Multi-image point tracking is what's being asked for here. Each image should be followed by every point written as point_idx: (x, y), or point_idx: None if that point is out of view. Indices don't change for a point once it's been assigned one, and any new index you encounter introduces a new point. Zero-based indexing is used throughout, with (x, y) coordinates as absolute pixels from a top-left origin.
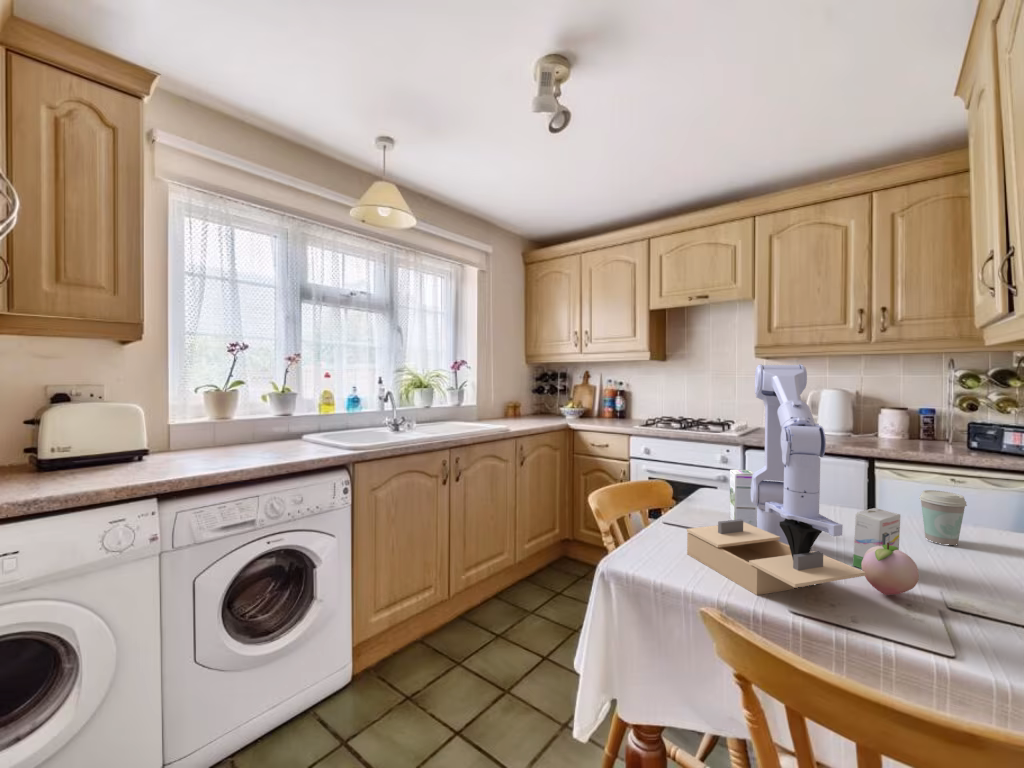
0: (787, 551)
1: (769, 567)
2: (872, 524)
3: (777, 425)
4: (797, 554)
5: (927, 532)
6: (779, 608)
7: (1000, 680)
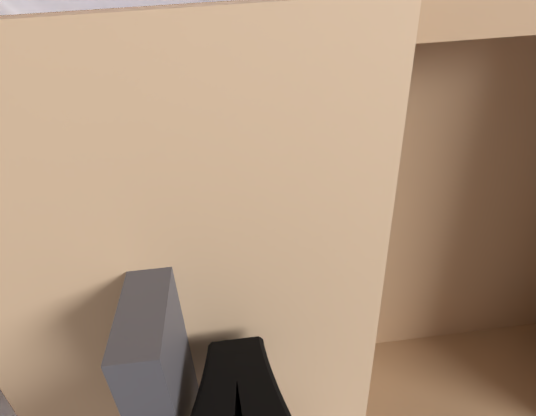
0: (471, 398)
1: (216, 84)
2: None
3: None
4: (161, 390)
5: None
6: (99, 3)
7: None
